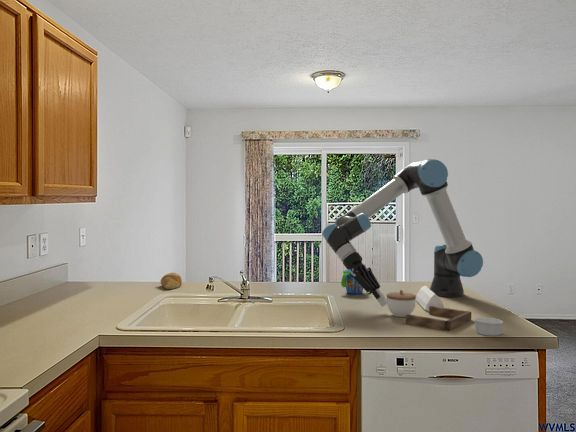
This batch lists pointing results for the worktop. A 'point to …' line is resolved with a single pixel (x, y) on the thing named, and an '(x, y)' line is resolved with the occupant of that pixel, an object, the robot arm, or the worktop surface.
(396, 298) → the lidded jar
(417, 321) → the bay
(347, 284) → the snack cup
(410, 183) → the robot arm
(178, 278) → the bread loaf
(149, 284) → the worktop surface
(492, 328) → the ramekin
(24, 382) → the worktop surface
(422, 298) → the white rounded prism
